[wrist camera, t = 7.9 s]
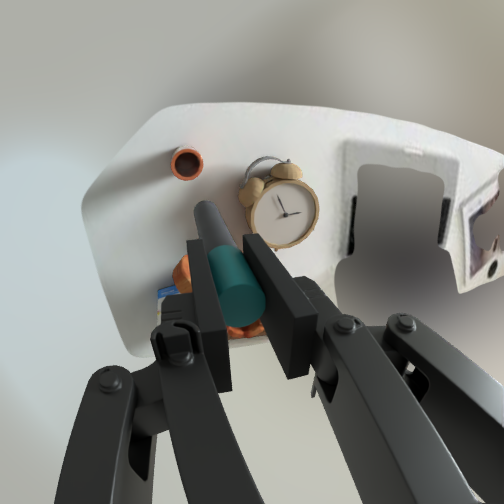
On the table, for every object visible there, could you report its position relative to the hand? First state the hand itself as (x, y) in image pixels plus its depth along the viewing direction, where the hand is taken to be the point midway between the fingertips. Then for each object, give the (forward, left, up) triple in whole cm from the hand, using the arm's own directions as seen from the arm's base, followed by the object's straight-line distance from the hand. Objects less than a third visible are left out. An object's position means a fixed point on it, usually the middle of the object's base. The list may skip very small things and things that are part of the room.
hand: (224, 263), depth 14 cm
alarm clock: (+13, 0, -30) cm, 33 cm away
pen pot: (-2, +2, -30) cm, 30 cm away
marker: (0, 0, -9) cm, 9 cm away
